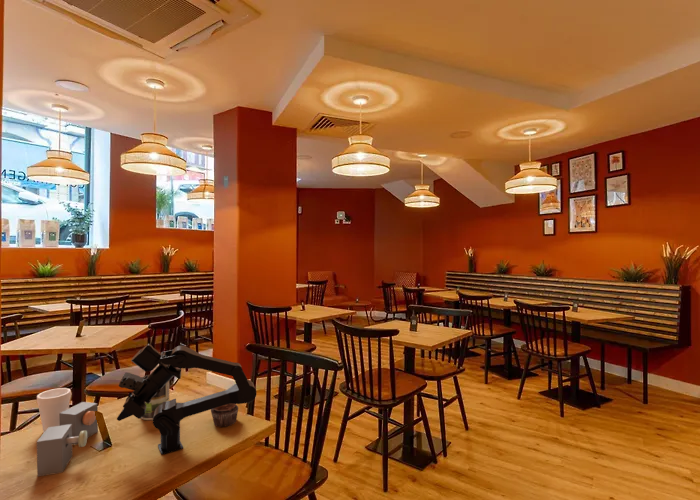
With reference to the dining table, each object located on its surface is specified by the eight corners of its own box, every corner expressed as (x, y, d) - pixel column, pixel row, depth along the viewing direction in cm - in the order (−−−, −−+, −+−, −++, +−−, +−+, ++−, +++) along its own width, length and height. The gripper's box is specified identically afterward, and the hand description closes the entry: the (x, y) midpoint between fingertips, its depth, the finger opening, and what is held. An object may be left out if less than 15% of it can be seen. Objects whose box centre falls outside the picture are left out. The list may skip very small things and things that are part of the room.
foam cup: (44, 439, 133) (43, 400, 133) (32, 431, 138) (32, 394, 138) (76, 427, 141) (75, 391, 141) (64, 421, 146) (63, 386, 146)
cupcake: (239, 425, 144) (239, 398, 143) (211, 430, 140) (211, 402, 140) (237, 414, 153) (237, 388, 152) (210, 418, 149) (210, 391, 149)
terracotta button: (96, 421, 136) (96, 408, 136) (85, 427, 132) (85, 414, 131) (80, 419, 137) (80, 407, 137) (69, 425, 133) (69, 412, 133)
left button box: (72, 455, 123) (71, 424, 123) (62, 472, 115) (61, 438, 115) (49, 459, 121) (48, 427, 121) (37, 476, 113) (36, 441, 113)
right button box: (97, 431, 139) (97, 403, 138) (75, 445, 130) (75, 414, 129) (82, 430, 140) (82, 401, 139) (59, 443, 131) (59, 413, 130)
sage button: (87, 441, 123) (87, 427, 122) (83, 449, 118) (82, 434, 118) (63, 445, 121) (63, 430, 120) (58, 452, 116) (58, 437, 116)
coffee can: (156, 422, 146) (155, 384, 146) (133, 418, 149) (133, 380, 149) (176, 410, 156) (175, 374, 155) (154, 406, 159) (154, 371, 158)
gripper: (141, 355, 133) (104, 392, 130) (130, 374, 116) (87, 417, 112) (167, 376, 136) (131, 412, 133) (161, 397, 119) (119, 440, 115)
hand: (118, 419), depth 123 cm, fingers closed
